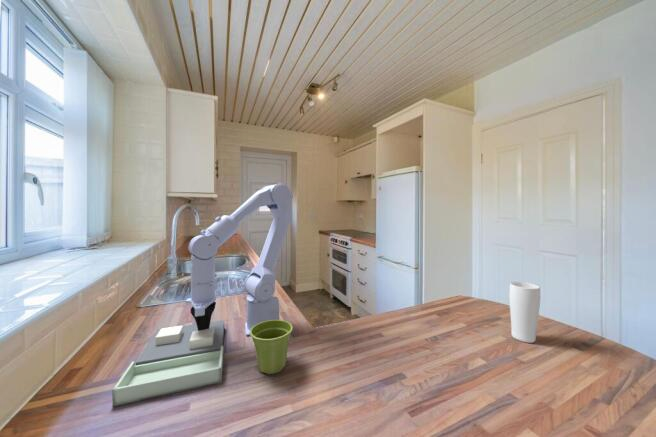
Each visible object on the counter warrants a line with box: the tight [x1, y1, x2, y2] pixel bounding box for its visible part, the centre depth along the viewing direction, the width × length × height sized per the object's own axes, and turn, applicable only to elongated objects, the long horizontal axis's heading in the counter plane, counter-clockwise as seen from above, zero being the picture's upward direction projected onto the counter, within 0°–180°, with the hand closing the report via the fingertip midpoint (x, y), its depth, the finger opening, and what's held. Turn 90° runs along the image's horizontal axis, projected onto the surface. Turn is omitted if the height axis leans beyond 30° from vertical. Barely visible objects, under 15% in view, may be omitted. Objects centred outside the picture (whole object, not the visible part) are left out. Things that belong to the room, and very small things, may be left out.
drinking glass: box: [508, 281, 541, 344], centre depth 68 cm, size 7×7×15 cm
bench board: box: [135, 319, 225, 366], centre depth 64 cm, size 17×16×2 cm
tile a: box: [189, 328, 214, 349], centre depth 62 cm, size 5×5×2 cm
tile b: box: [155, 324, 184, 345], centre depth 63 cm, size 5×5×2 cm
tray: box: [111, 345, 224, 407], centre depth 52 cm, size 18×9×3 cm, turn 110°
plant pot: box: [249, 319, 293, 375], centre depth 56 cm, size 9×9×9 cm
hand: (203, 332), depth 65 cm, fingers closed
